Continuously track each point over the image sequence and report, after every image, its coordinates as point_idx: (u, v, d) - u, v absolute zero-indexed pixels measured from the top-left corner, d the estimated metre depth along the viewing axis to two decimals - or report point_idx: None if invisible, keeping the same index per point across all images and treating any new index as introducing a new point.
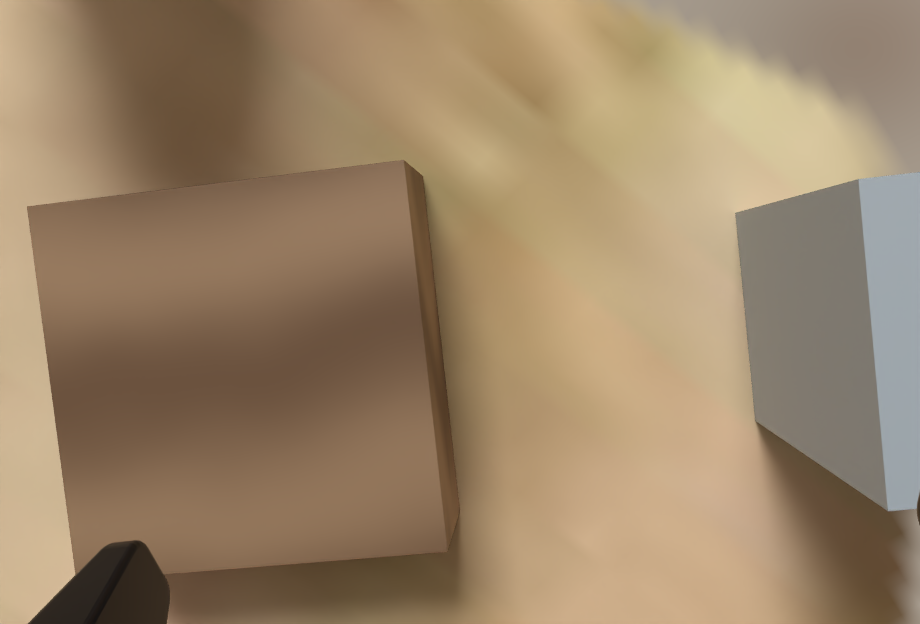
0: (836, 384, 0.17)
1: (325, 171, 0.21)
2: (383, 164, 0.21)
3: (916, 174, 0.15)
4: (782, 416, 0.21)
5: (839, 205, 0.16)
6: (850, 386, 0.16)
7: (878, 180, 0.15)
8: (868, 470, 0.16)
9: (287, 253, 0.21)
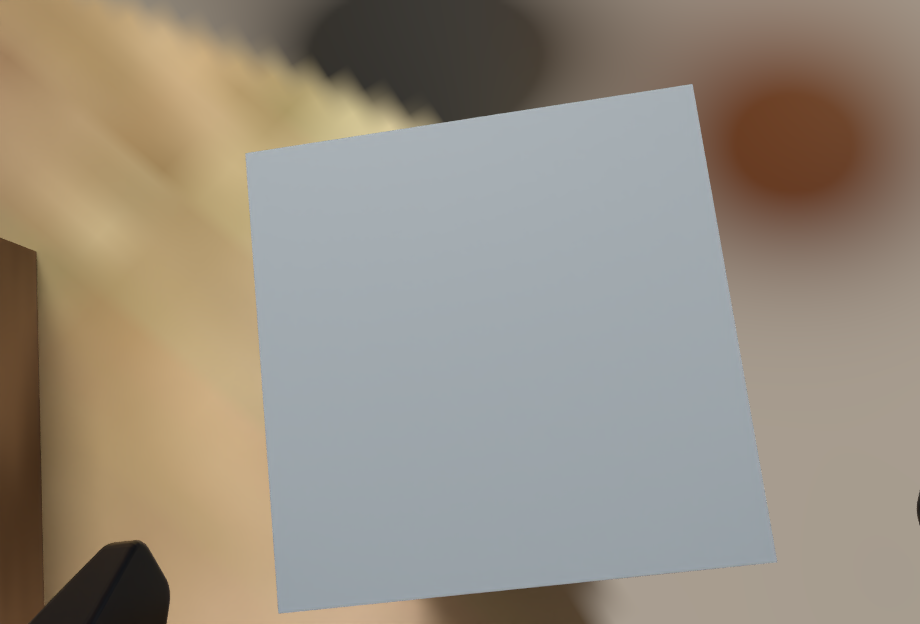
0: None
1: None
2: None
3: (317, 145, 0.11)
4: None
5: None
6: None
7: (267, 153, 0.11)
8: None
9: None
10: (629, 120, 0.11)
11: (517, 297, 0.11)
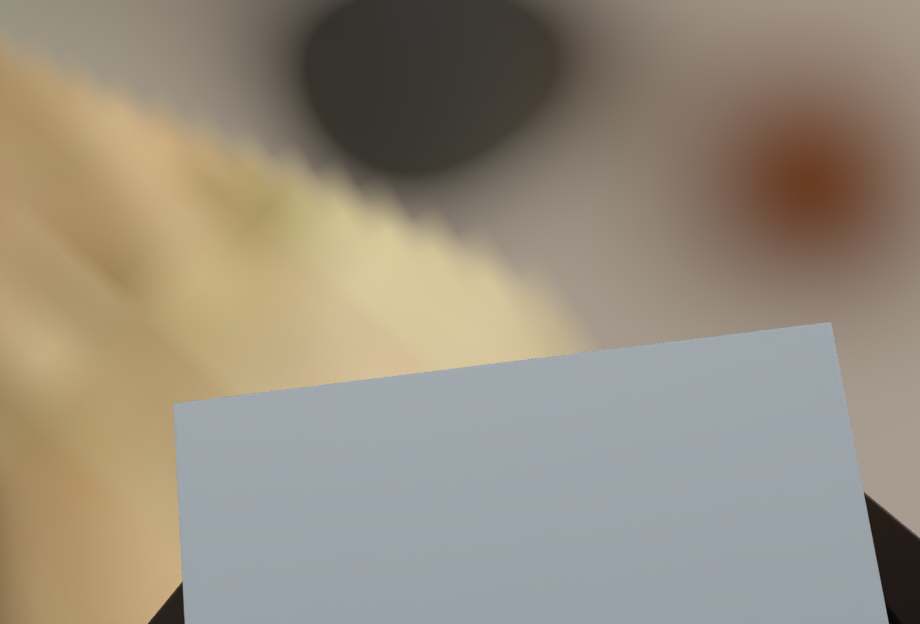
0: None
1: None
2: None
3: (277, 394, 0.08)
4: None
5: None
6: None
7: (205, 406, 0.08)
8: None
9: None
10: (738, 374, 0.07)
11: None
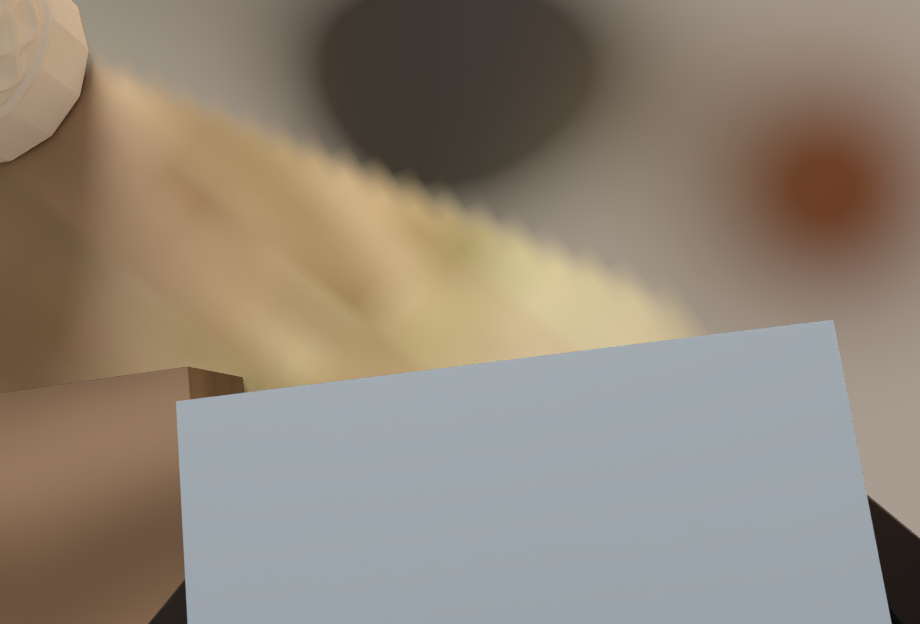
0: None
1: (110, 379, 0.21)
2: (168, 371, 0.21)
3: (279, 392, 0.08)
4: None
5: None
6: None
7: (207, 403, 0.08)
8: None
9: (67, 464, 0.20)
10: (738, 372, 0.07)
11: None
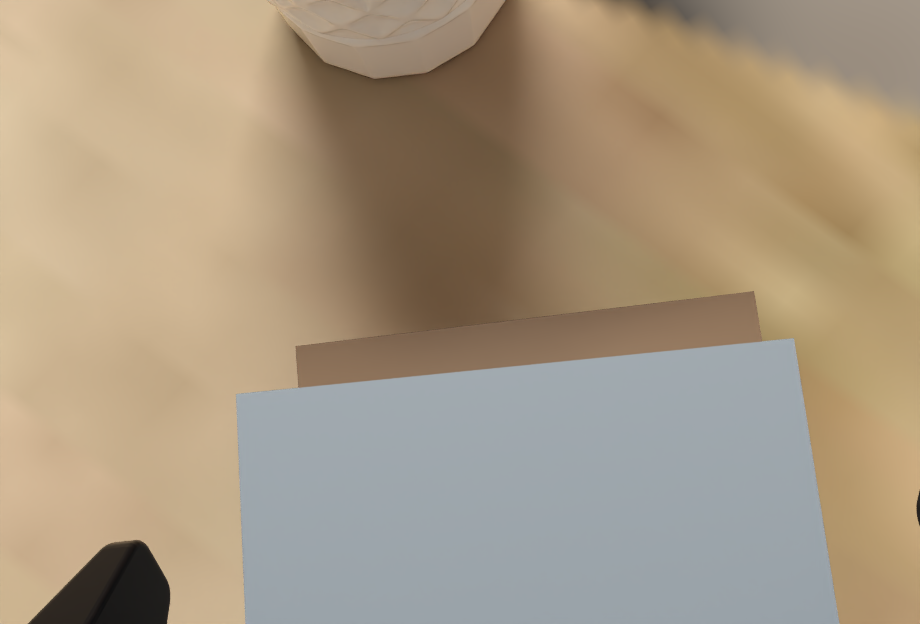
0: None
1: (657, 305, 0.18)
2: (728, 296, 0.18)
3: (324, 388, 0.09)
4: None
5: None
6: None
7: (263, 396, 0.09)
8: None
9: None
10: (714, 380, 0.09)
11: (569, 606, 0.08)
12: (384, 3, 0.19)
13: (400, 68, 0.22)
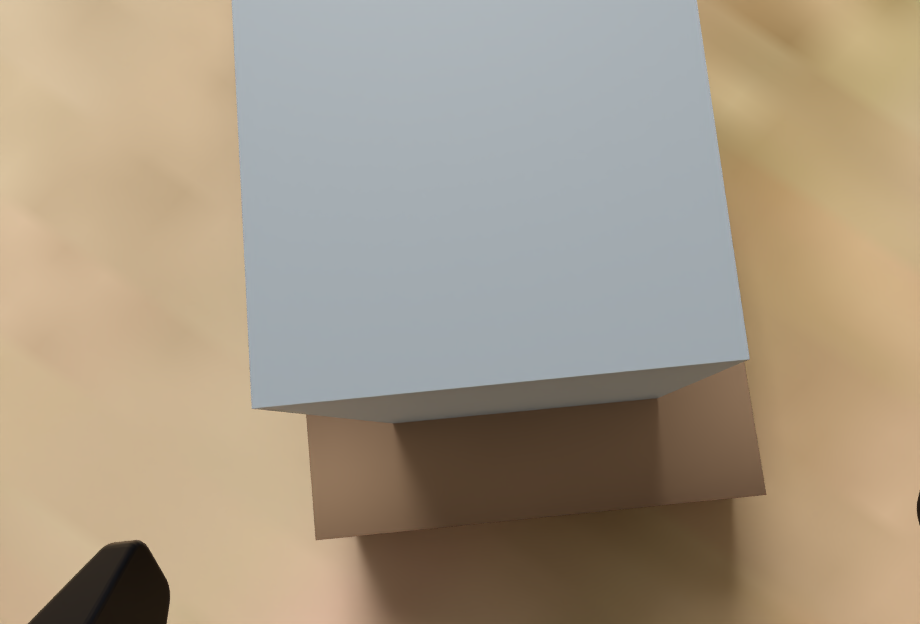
0: None
1: None
2: None
3: None
4: None
5: None
6: None
7: None
8: None
9: None
10: None
11: (497, 103, 0.10)
12: None
13: None
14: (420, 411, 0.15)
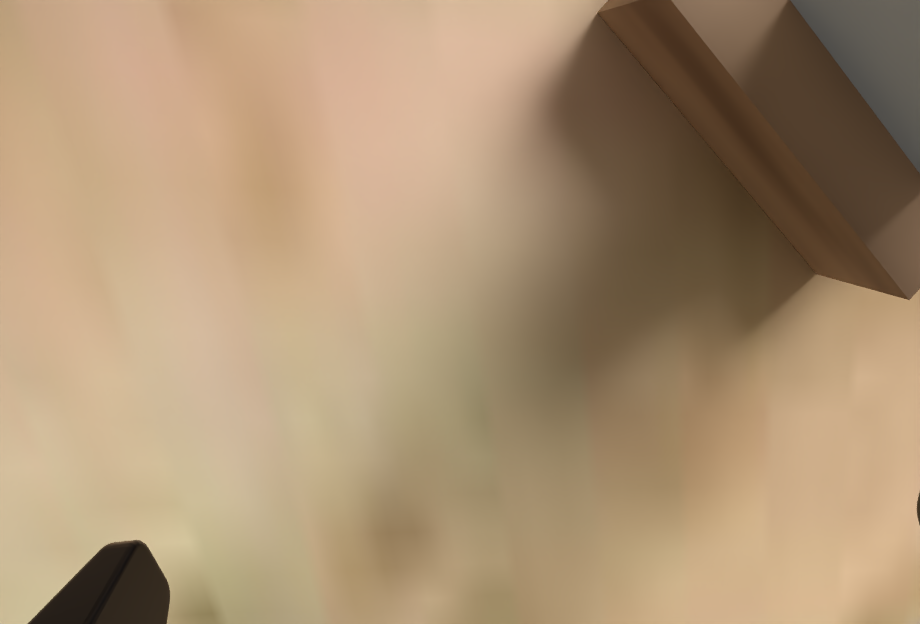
0: None
1: None
2: None
3: None
4: None
5: None
6: None
7: None
8: None
9: None
10: None
11: None
12: None
13: None
14: None
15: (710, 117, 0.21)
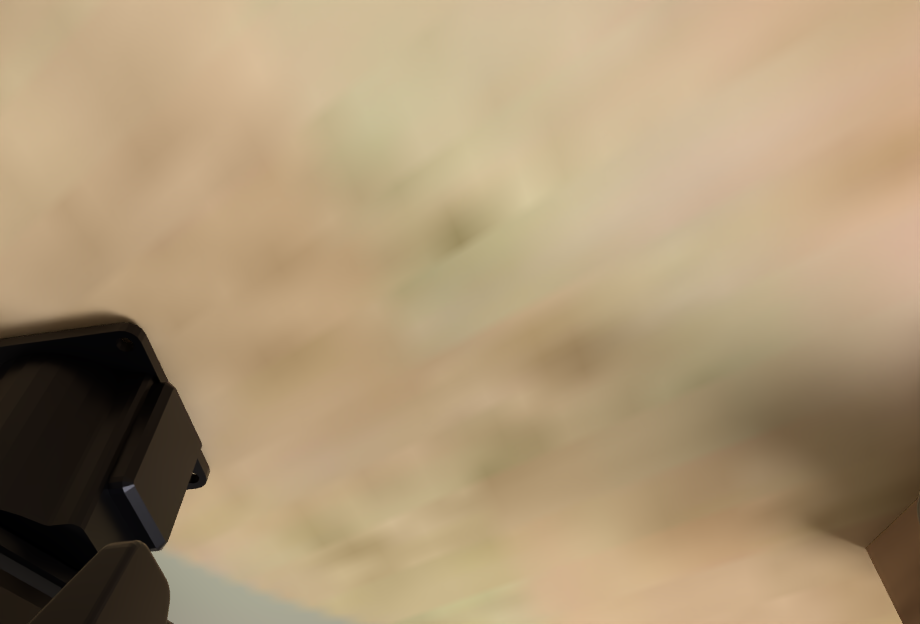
0: None
1: None
2: None
3: None
4: None
5: None
6: None
7: None
8: None
9: None
10: None
11: None
12: None
13: None
14: None
15: None
